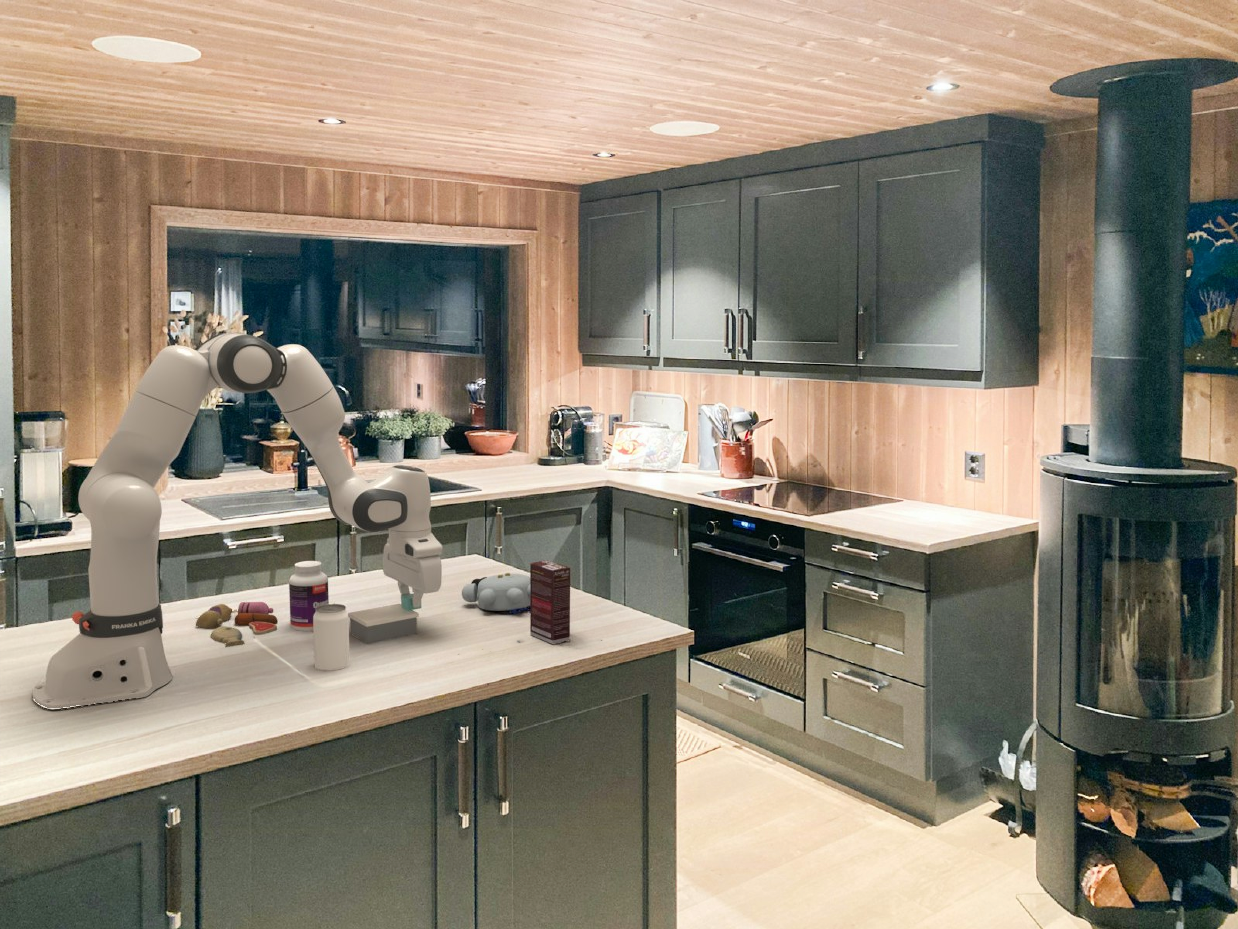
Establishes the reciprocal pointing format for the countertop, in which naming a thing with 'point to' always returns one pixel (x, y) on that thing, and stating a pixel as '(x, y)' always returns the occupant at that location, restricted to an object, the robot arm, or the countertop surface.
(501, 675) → the countertop surface
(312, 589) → the pill bottle
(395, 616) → the lid
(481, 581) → the figurine
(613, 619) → the countertop surface
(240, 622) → the toy food set
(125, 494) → the robot arm
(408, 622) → the tub
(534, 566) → the supplement box
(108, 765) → the countertop surface
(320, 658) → the can
